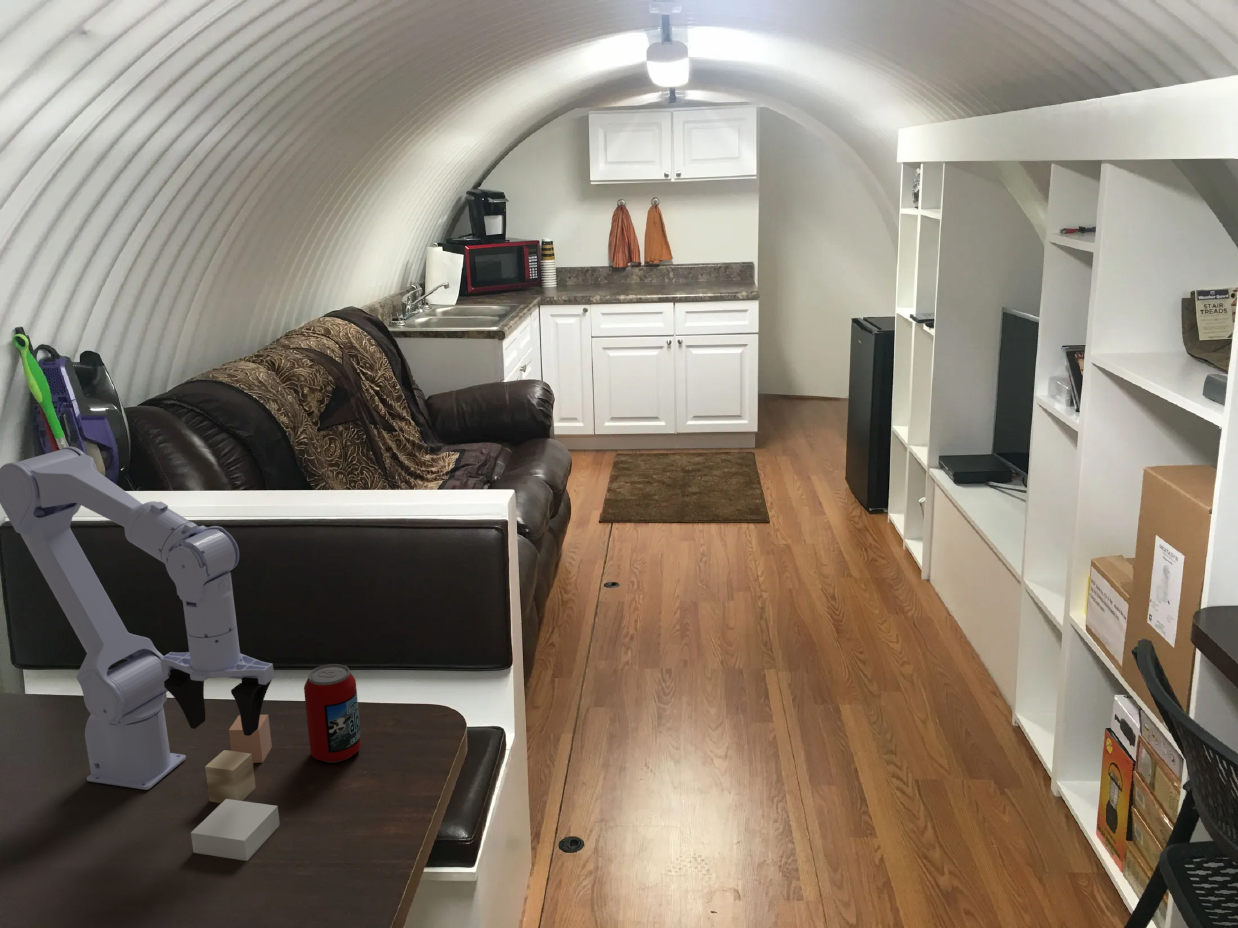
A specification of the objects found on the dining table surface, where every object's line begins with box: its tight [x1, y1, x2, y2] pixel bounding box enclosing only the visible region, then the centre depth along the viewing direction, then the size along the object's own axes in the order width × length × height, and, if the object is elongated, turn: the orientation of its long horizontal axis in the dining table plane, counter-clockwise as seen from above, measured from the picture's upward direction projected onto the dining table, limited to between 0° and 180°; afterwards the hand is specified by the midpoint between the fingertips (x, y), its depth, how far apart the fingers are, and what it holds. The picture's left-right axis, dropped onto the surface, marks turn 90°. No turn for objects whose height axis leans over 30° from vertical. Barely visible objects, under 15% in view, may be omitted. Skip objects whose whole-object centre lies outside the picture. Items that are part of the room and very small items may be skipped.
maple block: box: [204, 749, 257, 804], centre depth 132 cm, size 4×4×5 cm
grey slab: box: [190, 799, 281, 862], centre depth 124 cm, size 7×7×3 cm
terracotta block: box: [228, 714, 273, 764], centre depth 141 cm, size 4×4×5 cm
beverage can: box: [303, 663, 362, 764], centre depth 140 cm, size 7×7×12 cm
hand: (224, 728), depth 130 cm, fingers open, 7 cm apart
